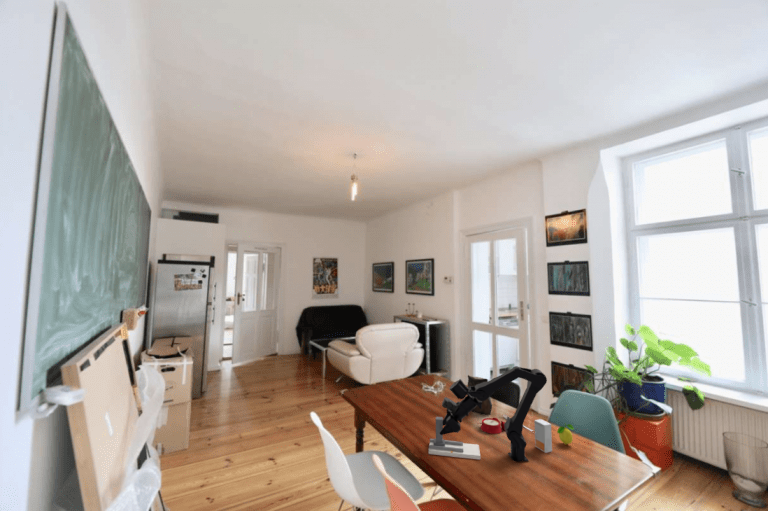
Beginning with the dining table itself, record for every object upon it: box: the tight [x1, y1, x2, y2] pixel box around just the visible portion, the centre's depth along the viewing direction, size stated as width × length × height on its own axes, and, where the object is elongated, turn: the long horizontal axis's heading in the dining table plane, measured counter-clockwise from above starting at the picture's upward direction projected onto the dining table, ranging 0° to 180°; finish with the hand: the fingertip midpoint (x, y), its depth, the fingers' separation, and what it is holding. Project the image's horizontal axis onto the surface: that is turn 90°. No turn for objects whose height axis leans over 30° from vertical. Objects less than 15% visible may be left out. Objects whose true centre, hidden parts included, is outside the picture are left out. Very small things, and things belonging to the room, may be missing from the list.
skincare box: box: [533, 418, 553, 454], centre depth 150 cm, size 6×4×12 cm
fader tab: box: [433, 416, 446, 446], centre depth 150 cm, size 5×4×12 cm
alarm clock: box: [477, 417, 506, 435], centre depth 170 cm, size 10×6×15 cm
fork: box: [502, 414, 534, 432], centre depth 175 cm, size 3×24×2 cm, turn 25°
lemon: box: [557, 422, 575, 446], centre depth 155 cm, size 7×6×10 cm
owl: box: [467, 374, 493, 416], centre depth 194 cm, size 13×13×20 cm
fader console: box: [428, 438, 481, 461], centre depth 148 cm, size 22×10×3 cm, turn 78°
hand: (440, 429), depth 150 cm, fingers open, 9 cm apart
